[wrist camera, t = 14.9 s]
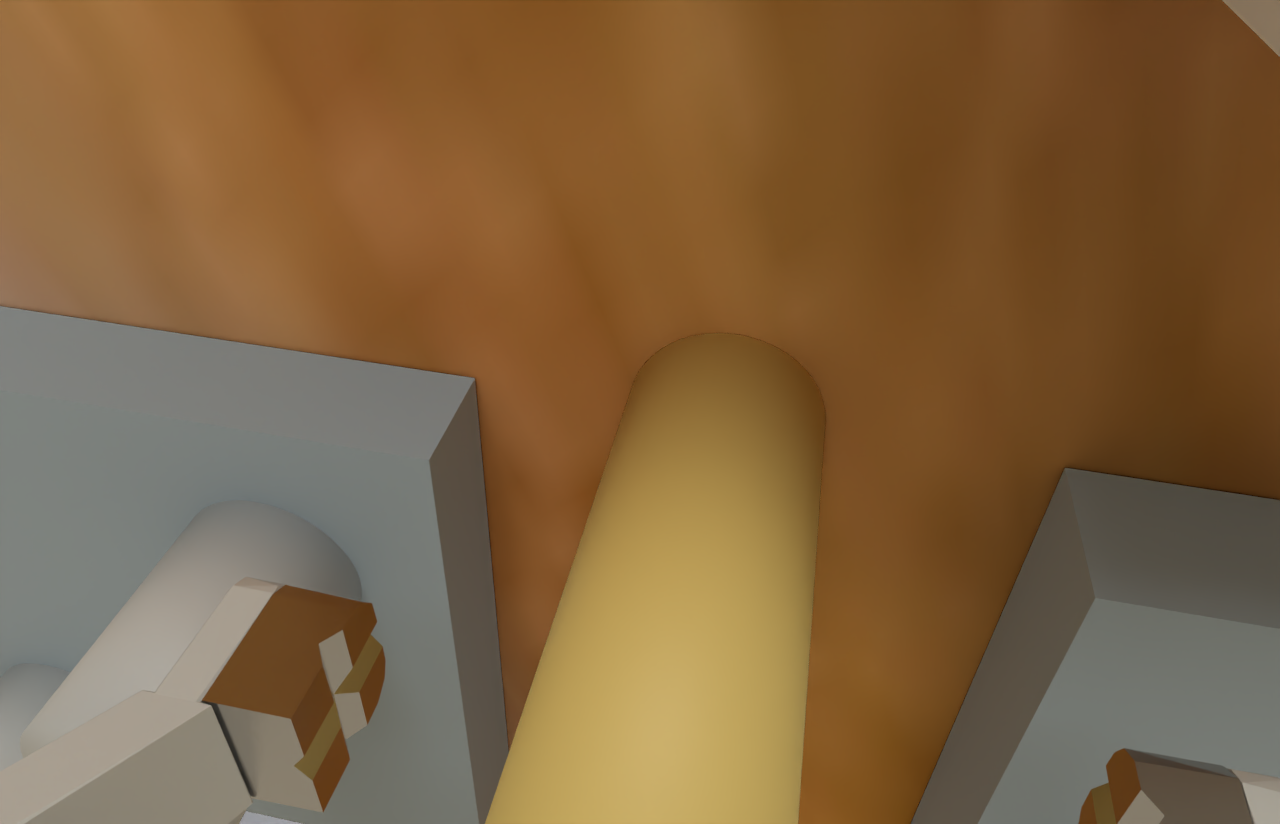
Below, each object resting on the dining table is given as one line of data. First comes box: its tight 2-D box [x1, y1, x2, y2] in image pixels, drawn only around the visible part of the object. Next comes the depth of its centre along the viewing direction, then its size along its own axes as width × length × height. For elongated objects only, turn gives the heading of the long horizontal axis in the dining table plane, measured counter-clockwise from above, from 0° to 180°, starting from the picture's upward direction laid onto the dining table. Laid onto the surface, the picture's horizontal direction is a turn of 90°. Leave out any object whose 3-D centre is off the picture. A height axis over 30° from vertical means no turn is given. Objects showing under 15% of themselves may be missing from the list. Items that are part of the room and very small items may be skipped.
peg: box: [485, 333, 826, 824], centre depth 11 cm, size 3×3×8 cm
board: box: [0, 306, 509, 824], centre depth 17 cm, size 12×12×6 cm
